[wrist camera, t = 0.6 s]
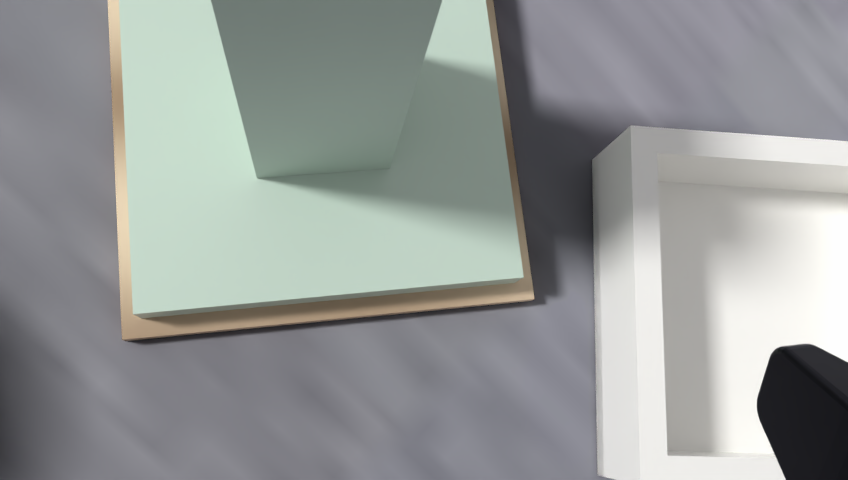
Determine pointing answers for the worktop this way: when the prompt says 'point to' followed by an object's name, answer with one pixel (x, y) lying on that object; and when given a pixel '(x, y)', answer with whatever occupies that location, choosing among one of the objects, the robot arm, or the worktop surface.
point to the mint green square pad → (313, 310)
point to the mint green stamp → (311, 152)
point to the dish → (709, 292)
